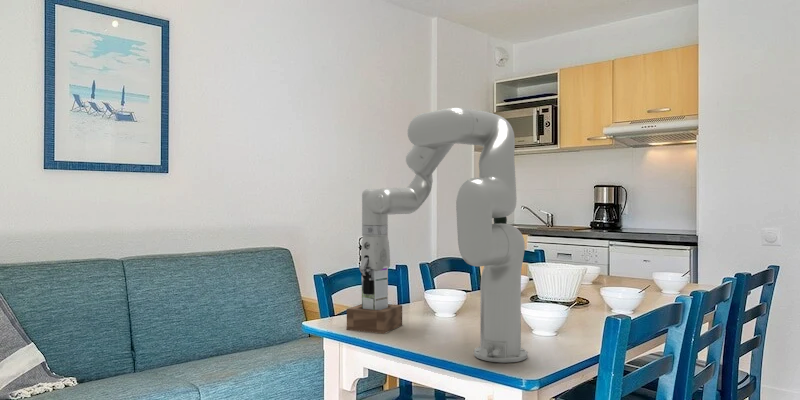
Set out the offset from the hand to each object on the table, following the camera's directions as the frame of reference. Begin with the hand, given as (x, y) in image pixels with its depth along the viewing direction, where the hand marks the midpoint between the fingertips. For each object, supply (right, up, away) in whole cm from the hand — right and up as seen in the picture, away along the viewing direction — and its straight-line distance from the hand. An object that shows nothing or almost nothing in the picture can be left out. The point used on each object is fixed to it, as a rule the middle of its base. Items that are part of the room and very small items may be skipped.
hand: (374, 291), depth 174 cm
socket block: (0, -10, 0) cm, 10 cm away
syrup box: (0, -7, 0) cm, 7 cm away
